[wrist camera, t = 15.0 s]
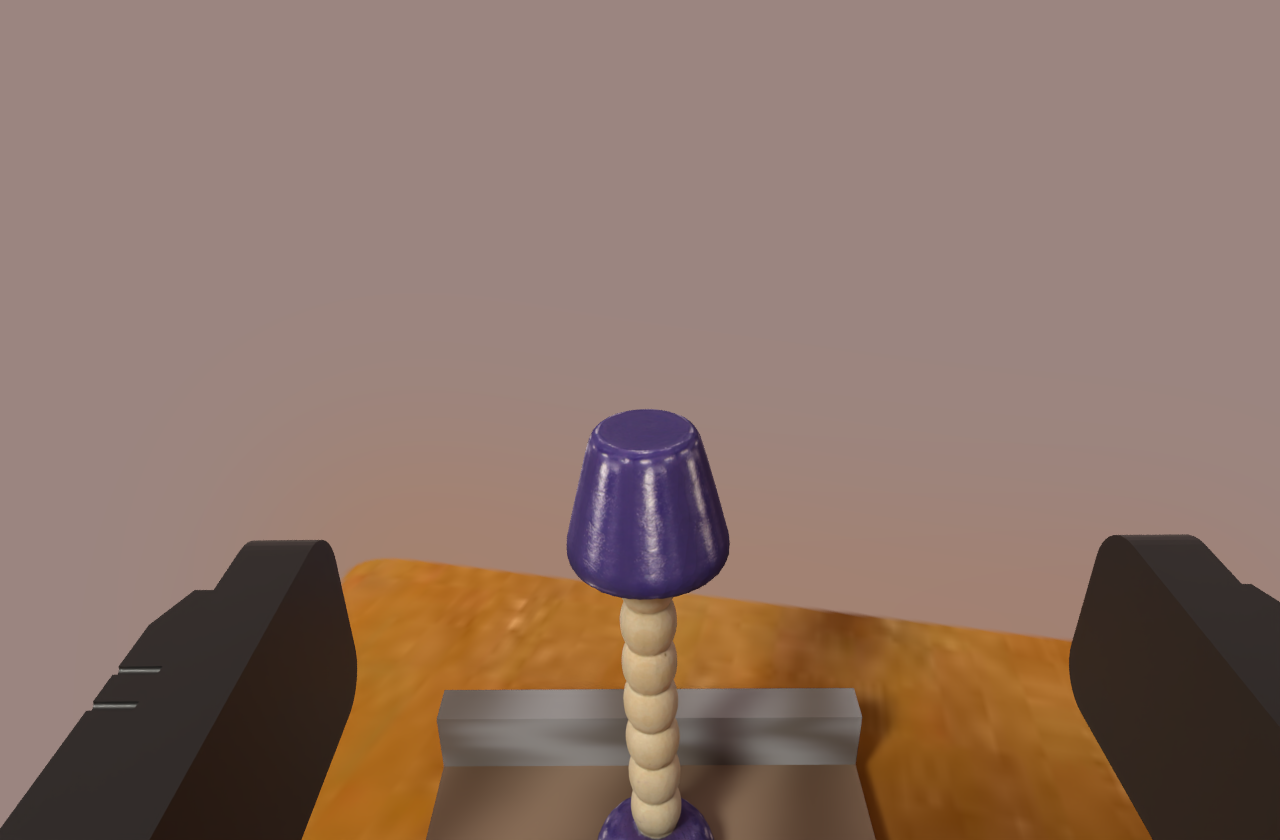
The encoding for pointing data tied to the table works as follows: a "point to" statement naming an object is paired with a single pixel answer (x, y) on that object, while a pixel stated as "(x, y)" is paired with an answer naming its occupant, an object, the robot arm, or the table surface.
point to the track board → (599, 760)
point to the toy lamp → (648, 591)
